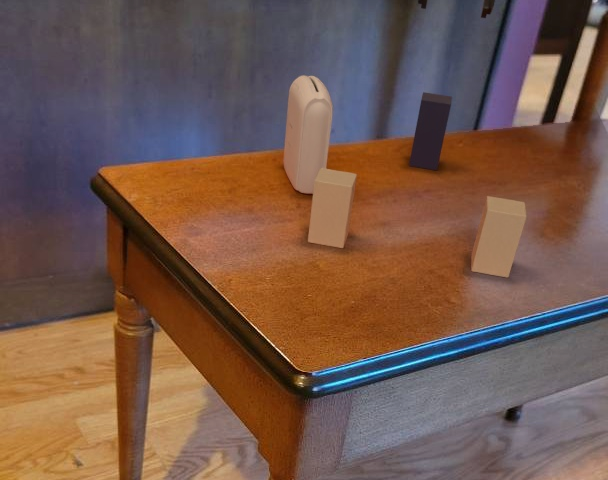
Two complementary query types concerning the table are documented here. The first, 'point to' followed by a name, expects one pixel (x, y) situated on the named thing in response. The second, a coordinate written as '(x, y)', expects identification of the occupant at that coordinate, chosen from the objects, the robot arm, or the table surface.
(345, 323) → the table surface
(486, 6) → the robot arm
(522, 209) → the post
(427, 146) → the navy block
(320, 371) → the table surface
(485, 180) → the table surface
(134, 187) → the table surface
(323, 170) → the post
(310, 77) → the photo printer
